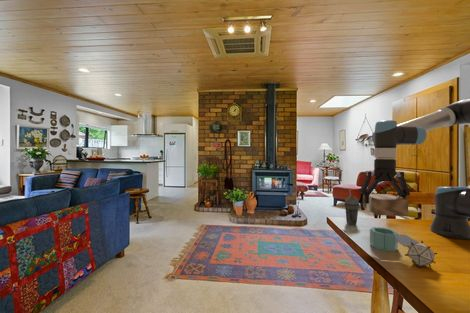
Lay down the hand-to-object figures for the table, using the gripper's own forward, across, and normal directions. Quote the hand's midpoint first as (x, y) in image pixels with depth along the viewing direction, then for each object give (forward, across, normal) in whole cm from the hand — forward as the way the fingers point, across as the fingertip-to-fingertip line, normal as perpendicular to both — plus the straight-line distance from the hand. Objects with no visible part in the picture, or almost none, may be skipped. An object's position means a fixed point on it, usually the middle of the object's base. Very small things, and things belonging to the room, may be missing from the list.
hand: (383, 211), depth 96 cm
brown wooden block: (0, 0, 0) cm, 0 cm away
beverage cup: (+15, +1, -30) cm, 34 cm away
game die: (+15, -5, +15) cm, 22 cm away
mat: (+15, -14, -9) cm, 22 cm away
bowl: (+15, 0, 0) cm, 15 cm away
